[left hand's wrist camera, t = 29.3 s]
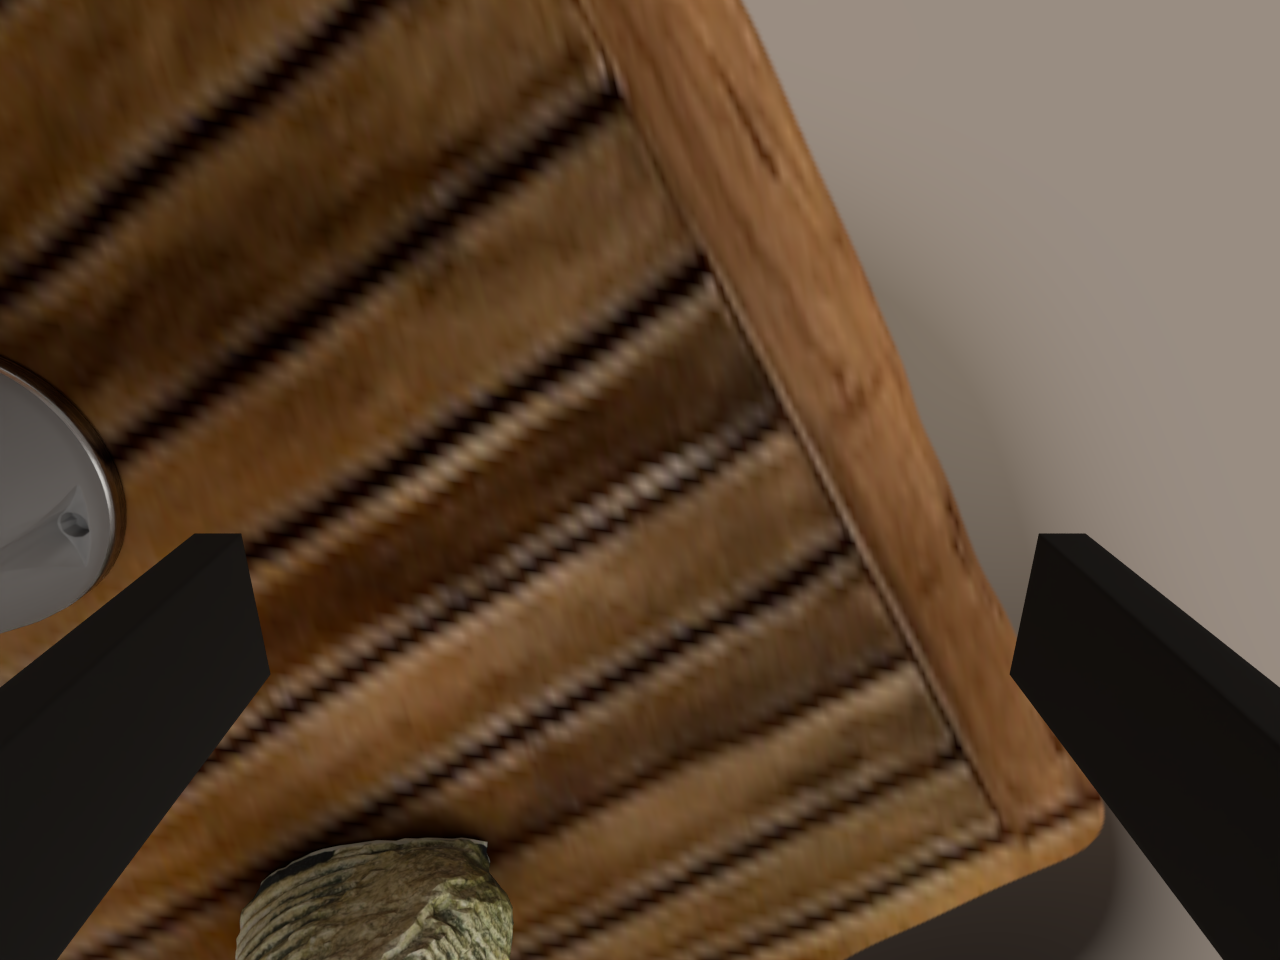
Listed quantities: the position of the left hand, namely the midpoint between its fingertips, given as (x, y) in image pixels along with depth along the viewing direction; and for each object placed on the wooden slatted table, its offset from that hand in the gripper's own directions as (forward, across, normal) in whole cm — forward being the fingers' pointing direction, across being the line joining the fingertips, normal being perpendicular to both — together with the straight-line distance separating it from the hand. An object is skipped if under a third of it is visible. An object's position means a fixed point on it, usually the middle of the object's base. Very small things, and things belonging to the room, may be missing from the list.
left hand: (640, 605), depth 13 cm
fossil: (+26, +16, +36) cm, 48 cm away
